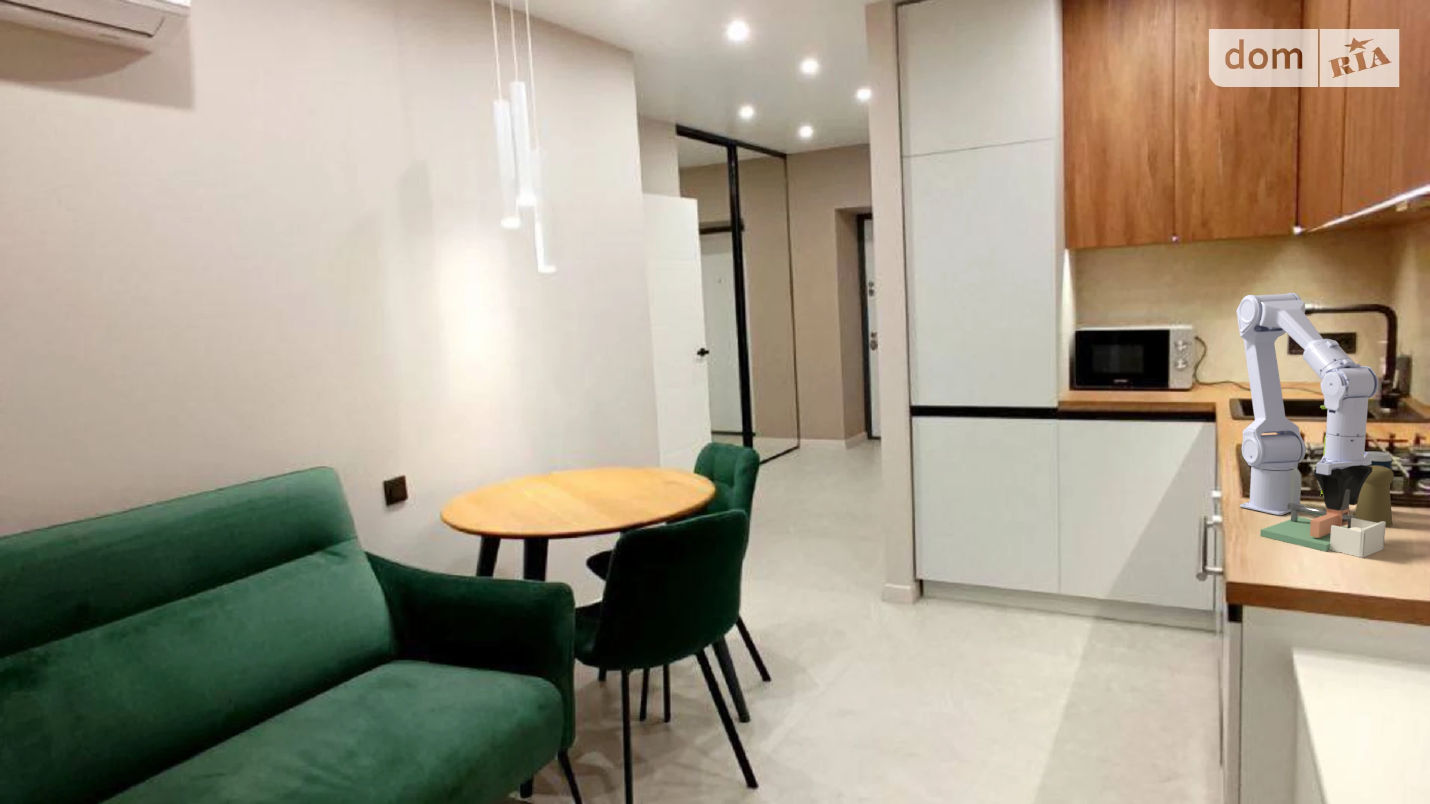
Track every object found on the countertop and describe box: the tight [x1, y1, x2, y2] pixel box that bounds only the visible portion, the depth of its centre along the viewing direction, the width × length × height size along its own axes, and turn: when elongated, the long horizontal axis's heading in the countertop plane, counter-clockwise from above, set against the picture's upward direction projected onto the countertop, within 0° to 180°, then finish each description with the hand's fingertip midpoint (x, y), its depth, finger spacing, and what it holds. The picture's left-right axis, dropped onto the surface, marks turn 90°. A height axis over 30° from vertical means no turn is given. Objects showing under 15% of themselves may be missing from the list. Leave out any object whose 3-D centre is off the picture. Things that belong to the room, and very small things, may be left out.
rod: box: [1288, 503, 1357, 529], centre depth 155 cm, size 1×11×3 cm, turn 29°
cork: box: [1353, 466, 1395, 528], centre depth 159 cm, size 6×6×11 cm
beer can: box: [1364, 450, 1393, 488], centre depth 165 cm, size 5×5×12 cm
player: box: [1310, 489, 1350, 538], centre depth 151 cm, size 9×2×7 cm, turn 119°
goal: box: [1329, 518, 1386, 559], centre depth 146 cm, size 7×5×5 cm
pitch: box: [1260, 516, 1348, 552], centre depth 154 cm, size 13×11×1 cm
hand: (1340, 506), depth 152 cm, fingers open, 5 cm apart
